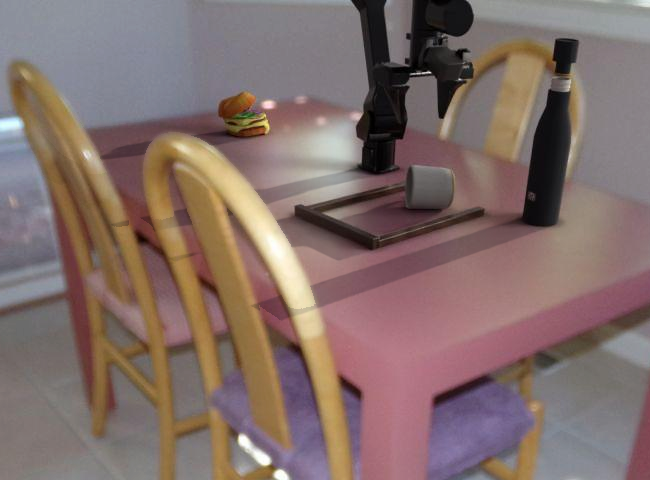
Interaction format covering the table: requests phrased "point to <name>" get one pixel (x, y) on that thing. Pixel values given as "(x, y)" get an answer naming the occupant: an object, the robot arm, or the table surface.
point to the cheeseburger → (242, 116)
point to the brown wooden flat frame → (368, 239)
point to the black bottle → (551, 143)
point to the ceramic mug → (429, 187)
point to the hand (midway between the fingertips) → (421, 120)
